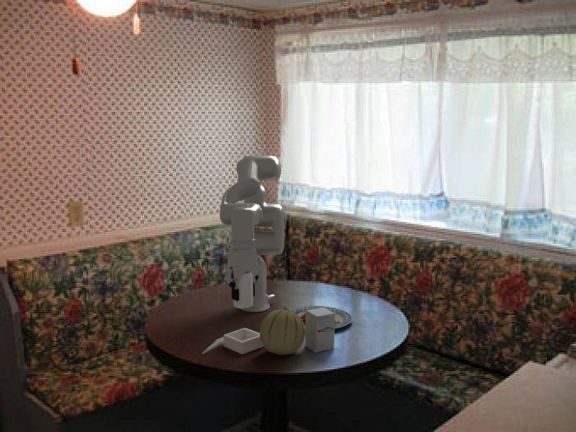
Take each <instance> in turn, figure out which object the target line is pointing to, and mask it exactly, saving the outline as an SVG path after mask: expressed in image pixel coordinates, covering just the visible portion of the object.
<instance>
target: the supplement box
mask: <svg viewBox="0 0 576 432" xmlns="http://www.w3.org/2000/svg"><path fill="white" fill-rule="evenodd" d="M334 327H335V313H333V312H332V311H330V310H328V309H326V308H318V309H311V310H306V323H305V338H304V345H305V346H306V348H308V349H309V350H311V351H312V352H314V353H315V354H316V353H320V352H324V351H329V350H334V349H335V329H334Z"/></svg>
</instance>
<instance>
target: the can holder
mask: <svg viewBox="0 0 576 432" xmlns="http://www.w3.org/2000/svg"><path fill="white" fill-rule="evenodd" d="M222 337H223V338H224V343H223V347H225V348H227V349H229V350H231V351H234V352H236V353H238V354H241V355H244V354H247V353H250V352H252V351H255V350H258V349H260V348H263V347H264V345H263V343H262V341H261V339H260V332H257V331H254V330H252V329H250V328H247V327H242V328H240V329H238V330H234V331H231V332H229V333H225V334H223V336H222Z"/></svg>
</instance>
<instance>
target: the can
mask: <svg viewBox="0 0 576 432" xmlns="http://www.w3.org/2000/svg"><path fill="white" fill-rule="evenodd" d="M234 279H235V278H234ZM235 282H236V281H234V284H235ZM238 289H239V301H236V300H233V299H232V300H233V301H232V303H233V307H234V308H236V309H240V310H241V309H247V308H250V307H252V305H253V275H252V273H251V272H248V273H243V276H242V277H241V280H239V286H238Z"/></svg>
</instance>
